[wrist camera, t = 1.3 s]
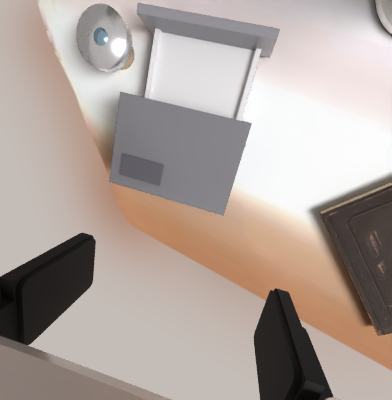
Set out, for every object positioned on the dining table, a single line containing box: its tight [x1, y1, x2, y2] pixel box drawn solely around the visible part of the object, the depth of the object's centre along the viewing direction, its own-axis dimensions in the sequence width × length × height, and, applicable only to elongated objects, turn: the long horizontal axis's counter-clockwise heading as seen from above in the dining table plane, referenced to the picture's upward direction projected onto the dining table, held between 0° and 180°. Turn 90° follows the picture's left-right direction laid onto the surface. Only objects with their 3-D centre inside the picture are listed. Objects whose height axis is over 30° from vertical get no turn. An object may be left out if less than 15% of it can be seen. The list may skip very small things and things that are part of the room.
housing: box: [109, 92, 252, 215], centre depth 29 cm, size 12×17×7 cm
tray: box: [137, 3, 280, 121], centre depth 27 cm, size 12×17×5 cm
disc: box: [77, 4, 132, 72], centre depth 26 cm, size 7×7×2 cm
